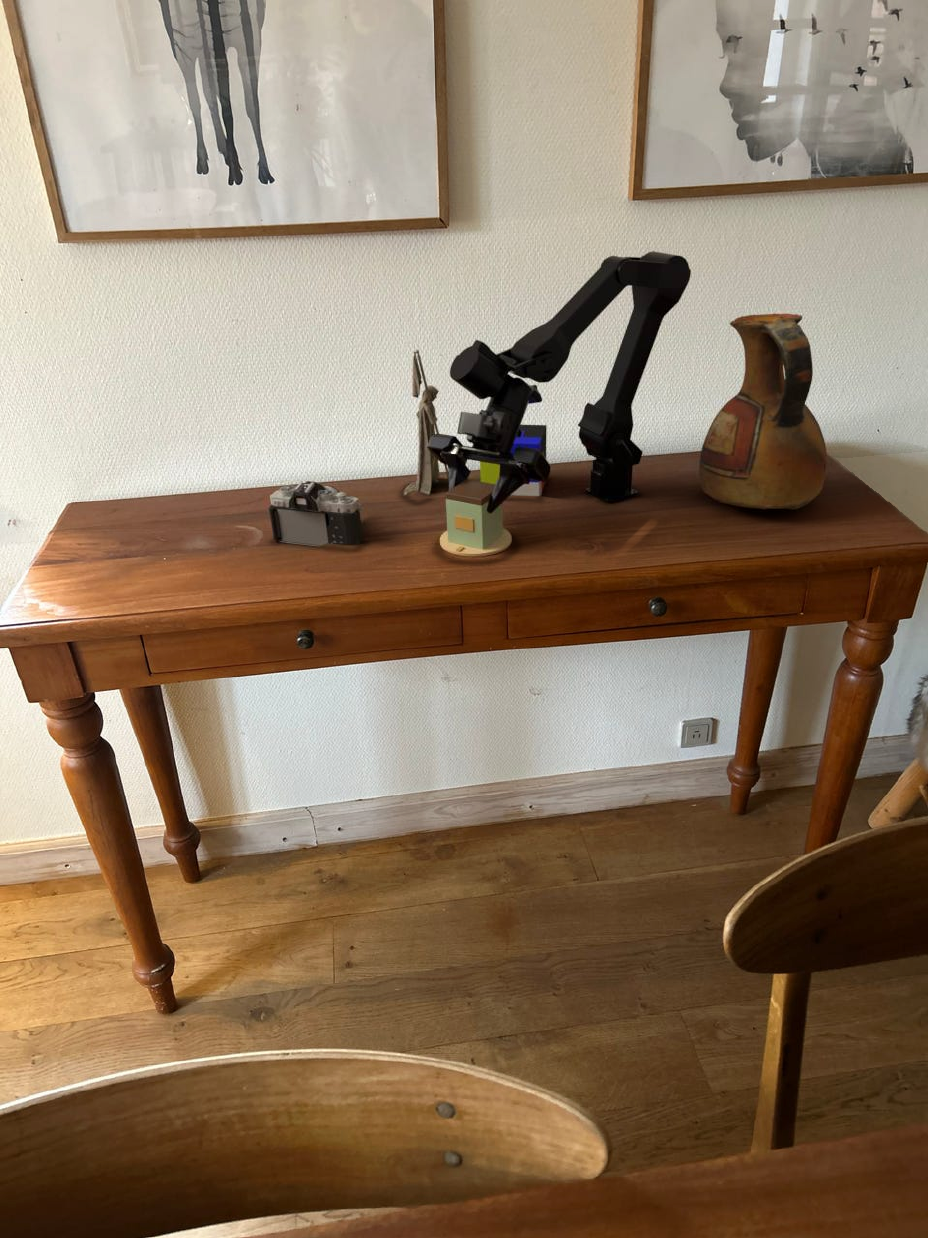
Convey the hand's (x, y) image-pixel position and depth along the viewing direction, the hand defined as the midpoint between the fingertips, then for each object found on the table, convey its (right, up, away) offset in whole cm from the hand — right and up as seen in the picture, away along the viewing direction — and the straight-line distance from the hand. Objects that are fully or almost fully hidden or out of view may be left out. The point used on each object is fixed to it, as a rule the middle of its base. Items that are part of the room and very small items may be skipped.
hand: (469, 508), depth 133 cm
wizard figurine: (-7, +6, +25) cm, 26 cm away
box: (+1, -5, +4) cm, 6 cm away
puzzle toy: (+8, +6, +24) cm, 26 cm away
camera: (-23, -4, +9) cm, 25 cm away
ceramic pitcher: (+48, +3, +15) cm, 50 cm away
